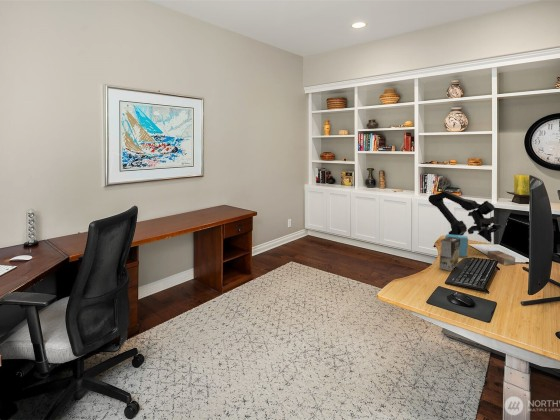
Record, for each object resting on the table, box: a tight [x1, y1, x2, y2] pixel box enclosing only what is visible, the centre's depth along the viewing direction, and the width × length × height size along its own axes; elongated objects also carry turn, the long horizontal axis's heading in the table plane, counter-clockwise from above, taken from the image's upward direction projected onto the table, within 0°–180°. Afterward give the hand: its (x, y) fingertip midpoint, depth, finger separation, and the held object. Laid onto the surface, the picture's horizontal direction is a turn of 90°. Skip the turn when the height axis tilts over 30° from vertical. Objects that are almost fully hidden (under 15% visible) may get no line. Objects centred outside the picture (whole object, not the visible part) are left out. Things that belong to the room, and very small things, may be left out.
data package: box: [444, 233, 469, 258], centre depth 203 cm, size 12×4×12 cm, turn 64°
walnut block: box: [486, 250, 516, 266], centre depth 193 cm, size 4×7×12 cm
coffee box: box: [438, 237, 460, 272], centre depth 183 cm, size 9×6×16 cm
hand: (490, 241), depth 199 cm, fingers closed
